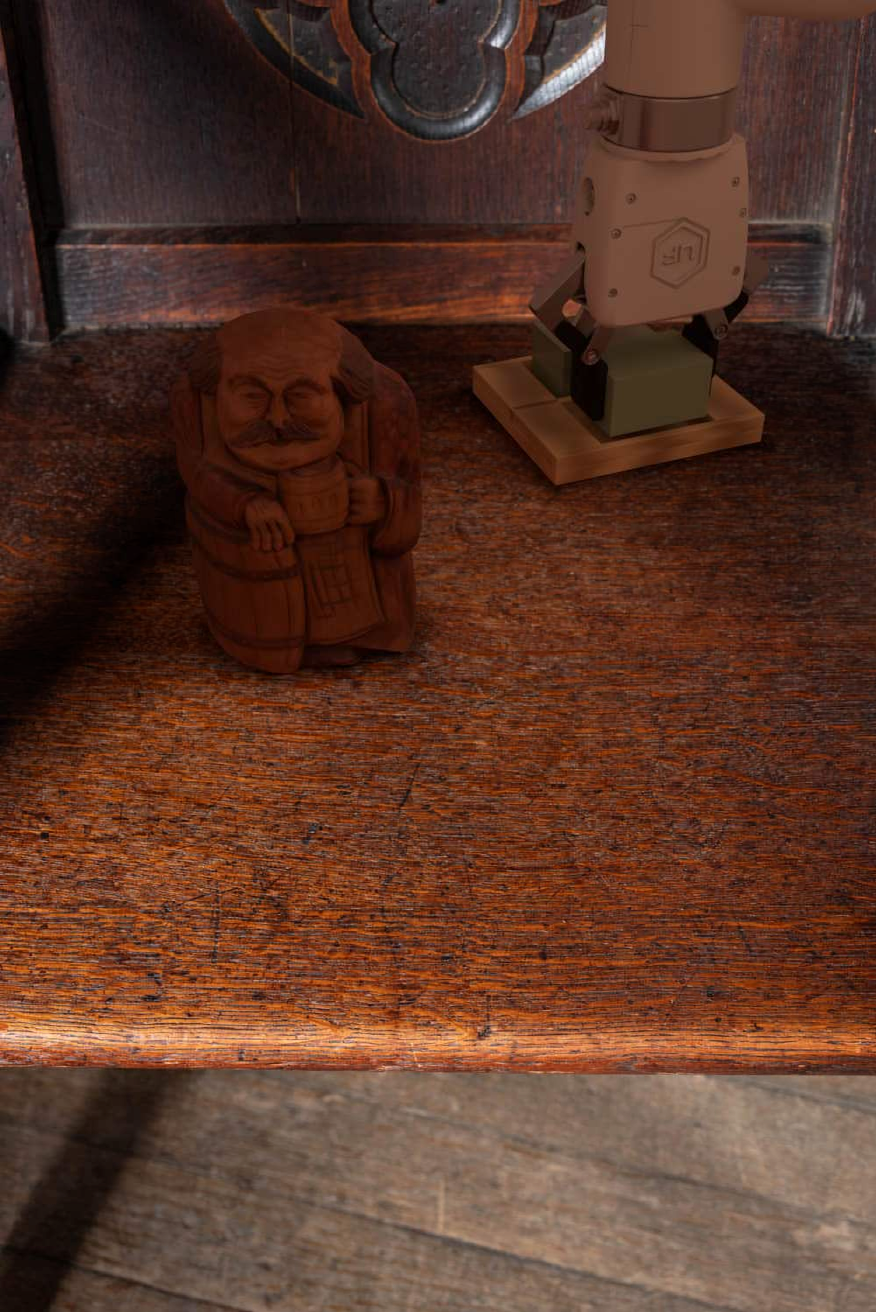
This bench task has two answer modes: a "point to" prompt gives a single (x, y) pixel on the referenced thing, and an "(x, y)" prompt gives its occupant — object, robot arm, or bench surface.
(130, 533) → the bench surface
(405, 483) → the wooden figurine
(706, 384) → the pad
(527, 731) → the bench surface
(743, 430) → the frame
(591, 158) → the robot arm
